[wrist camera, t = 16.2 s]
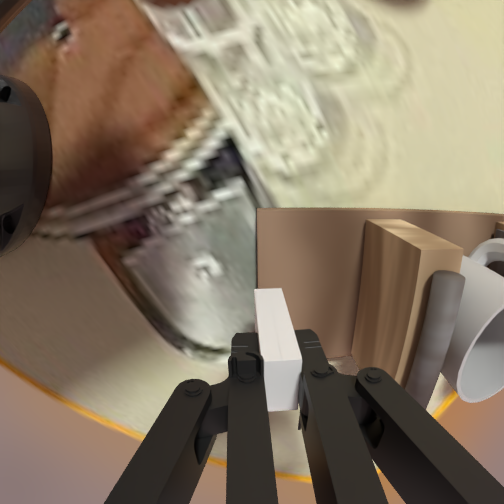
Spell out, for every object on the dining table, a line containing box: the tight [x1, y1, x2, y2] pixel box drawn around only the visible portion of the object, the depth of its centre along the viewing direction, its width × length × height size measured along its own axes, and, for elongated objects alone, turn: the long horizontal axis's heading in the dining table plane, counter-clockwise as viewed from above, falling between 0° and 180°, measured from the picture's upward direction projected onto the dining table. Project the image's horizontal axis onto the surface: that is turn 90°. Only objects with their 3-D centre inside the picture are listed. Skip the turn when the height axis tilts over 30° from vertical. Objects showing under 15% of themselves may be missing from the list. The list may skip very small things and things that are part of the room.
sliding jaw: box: [351, 219, 466, 410], centre depth 16 cm, size 3×10×9 cm, turn 1°
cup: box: [440, 238, 504, 403], centre depth 17 cm, size 7×10×9 cm
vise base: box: [257, 208, 504, 358], centre depth 18 cm, size 22×11×8 cm, turn 91°
